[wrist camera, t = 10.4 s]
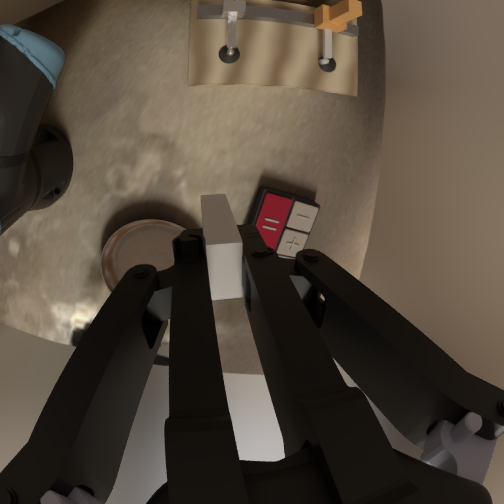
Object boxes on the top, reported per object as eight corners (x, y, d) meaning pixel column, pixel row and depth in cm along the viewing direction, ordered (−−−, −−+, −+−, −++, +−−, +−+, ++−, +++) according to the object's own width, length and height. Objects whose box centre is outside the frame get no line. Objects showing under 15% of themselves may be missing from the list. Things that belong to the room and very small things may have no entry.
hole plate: (188, 86, 35) (188, 85, 34) (191, 1, 28) (191, -3, 26) (352, 96, 40) (357, 96, 39) (352, 20, 32) (357, 18, 31)
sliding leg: (310, 62, 35) (343, 52, 25) (310, 12, 30) (341, -8, 21) (332, 66, 35) (369, 59, 26) (332, 17, 30) (367, 0, 21)
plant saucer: (218, 297, 56) (220, 307, 53) (125, 312, 53) (123, 323, 50) (199, 201, 45) (199, 208, 43) (90, 225, 43) (84, 233, 40)
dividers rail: (195, 57, 32) (195, 51, 28) (197, 7, 27) (198, -5, 23) (352, 71, 37) (368, 69, 32) (352, 25, 32) (367, 20, 28)
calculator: (323, 206, 46) (293, 280, 52) (313, 200, 50) (286, 269, 56) (265, 189, 43) (238, 270, 48) (259, 183, 47) (234, 259, 52)
